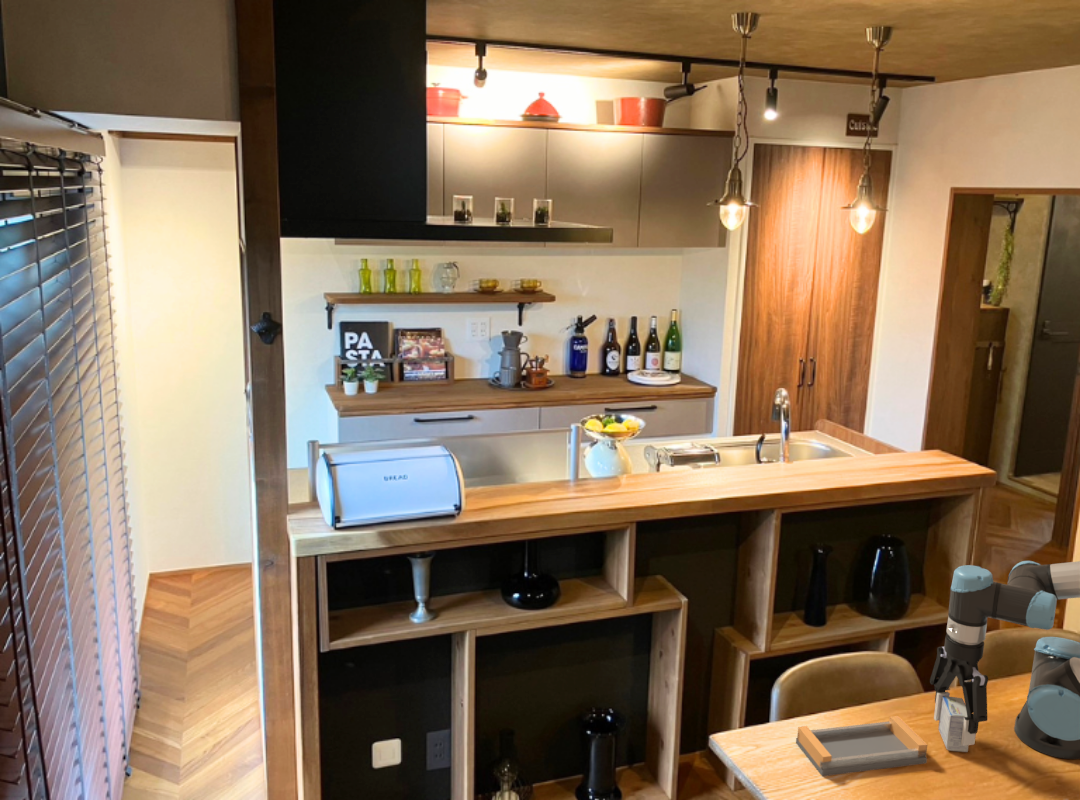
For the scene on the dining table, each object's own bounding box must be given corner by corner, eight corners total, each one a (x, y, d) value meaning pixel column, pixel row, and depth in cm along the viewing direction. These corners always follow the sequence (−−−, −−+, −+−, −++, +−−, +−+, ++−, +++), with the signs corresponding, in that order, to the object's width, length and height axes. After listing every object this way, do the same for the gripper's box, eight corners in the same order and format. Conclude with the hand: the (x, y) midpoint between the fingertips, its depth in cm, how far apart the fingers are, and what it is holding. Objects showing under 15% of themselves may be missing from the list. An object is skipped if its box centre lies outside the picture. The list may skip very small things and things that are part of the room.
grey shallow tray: (895, 731, 200) (896, 714, 199) (926, 763, 189) (928, 745, 188) (795, 742, 195) (797, 725, 194) (822, 776, 184) (823, 758, 183)
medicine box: (968, 753, 192) (972, 717, 190) (945, 750, 192) (950, 714, 190) (958, 732, 199) (963, 697, 197) (937, 729, 200) (941, 695, 198)
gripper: (919, 615, 200) (909, 706, 205) (983, 664, 179) (970, 763, 184) (949, 613, 201) (938, 702, 206) (1016, 660, 181) (1002, 759, 186)
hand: (953, 731), depth 195 cm, fingers closed on medicine box, 9 cm apart
